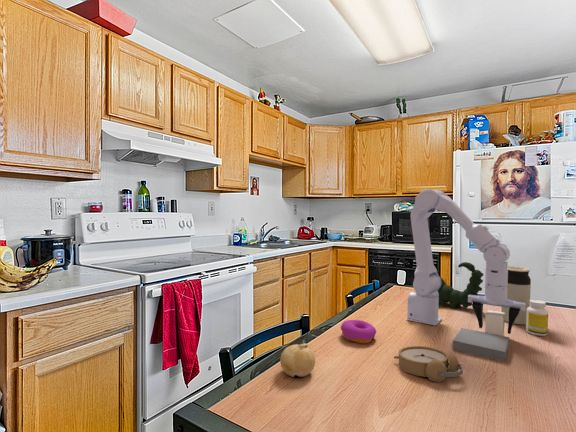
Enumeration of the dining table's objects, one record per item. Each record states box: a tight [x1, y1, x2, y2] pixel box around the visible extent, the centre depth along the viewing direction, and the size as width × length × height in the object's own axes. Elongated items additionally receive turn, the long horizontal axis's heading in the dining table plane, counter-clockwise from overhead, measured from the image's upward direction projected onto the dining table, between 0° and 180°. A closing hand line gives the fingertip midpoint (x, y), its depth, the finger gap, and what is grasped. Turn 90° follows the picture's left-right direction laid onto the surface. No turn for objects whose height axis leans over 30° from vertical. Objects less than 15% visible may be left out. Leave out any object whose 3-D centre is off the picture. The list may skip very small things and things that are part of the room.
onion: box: [279, 339, 316, 378], centre depth 79 cm, size 8×8×7 cm
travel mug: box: [500, 265, 532, 326], centre depth 116 cm, size 8×8×18 cm
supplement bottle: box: [525, 299, 549, 337], centre depth 105 cm, size 5×5×10 cm
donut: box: [340, 319, 377, 344], centre depth 101 cm, size 10×10×5 cm
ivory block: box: [484, 309, 506, 336], centre depth 103 cm, size 4×4×7 cm
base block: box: [452, 327, 510, 363], centre depth 94 cm, size 12×12×2 cm
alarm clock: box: [393, 345, 464, 383], centre depth 81 cm, size 11×5×15 cm
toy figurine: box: [438, 261, 485, 309], centre depth 135 cm, size 9×19×25 cm
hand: (494, 329), depth 103 cm, fingers open, 7 cm apart
